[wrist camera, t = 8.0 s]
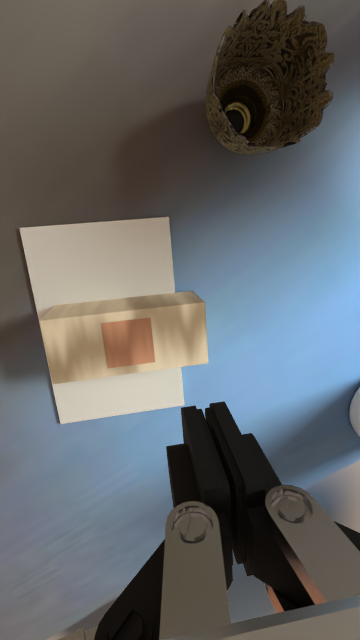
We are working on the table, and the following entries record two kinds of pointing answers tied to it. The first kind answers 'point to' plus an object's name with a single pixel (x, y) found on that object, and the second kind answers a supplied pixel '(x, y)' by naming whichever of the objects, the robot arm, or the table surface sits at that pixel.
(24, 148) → the table surface
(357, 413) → the fruit juice
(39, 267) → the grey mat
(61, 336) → the maple block
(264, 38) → the cup
